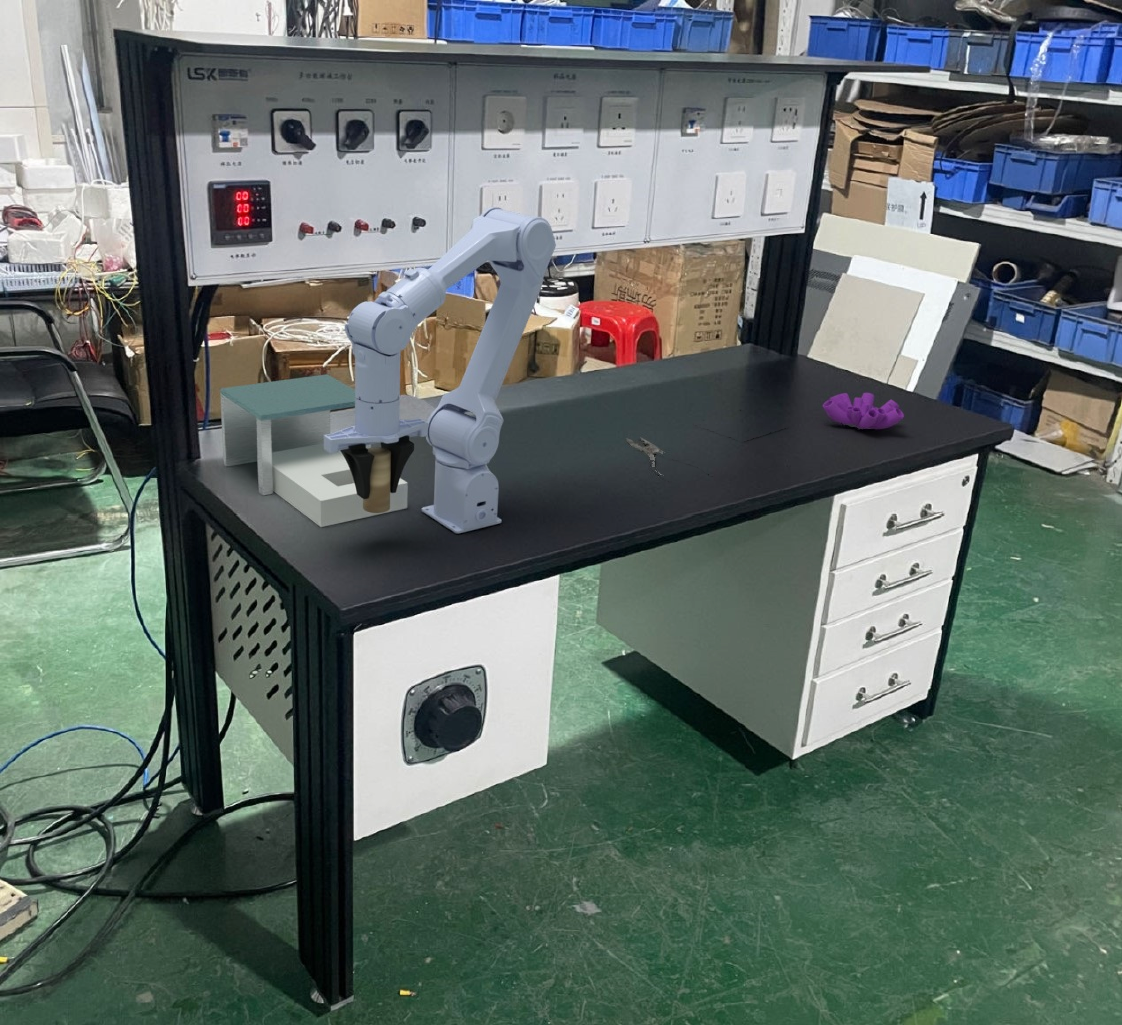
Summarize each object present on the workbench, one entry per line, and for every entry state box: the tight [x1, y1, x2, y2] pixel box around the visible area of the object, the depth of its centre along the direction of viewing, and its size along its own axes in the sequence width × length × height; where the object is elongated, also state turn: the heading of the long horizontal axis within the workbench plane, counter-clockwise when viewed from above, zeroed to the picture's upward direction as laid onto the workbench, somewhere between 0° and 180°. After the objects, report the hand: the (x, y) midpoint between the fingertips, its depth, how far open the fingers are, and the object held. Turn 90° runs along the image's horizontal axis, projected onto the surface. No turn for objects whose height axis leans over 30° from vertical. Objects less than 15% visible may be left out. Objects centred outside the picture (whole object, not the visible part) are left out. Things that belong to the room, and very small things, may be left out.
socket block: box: [257, 443, 409, 528], centre depth 164 cm, size 20×14×4 cm
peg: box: [363, 446, 391, 514], centre depth 147 cm, size 4×4×8 cm
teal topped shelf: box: [219, 373, 372, 496], centre depth 170 cm, size 14×18×12 cm
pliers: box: [625, 436, 665, 475], centre depth 189 cm, size 10×1×20 cm
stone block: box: [399, 394, 436, 422], centre depth 195 cm, size 12×5×10 cm
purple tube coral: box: [822, 392, 905, 430], centre depth 214 cm, size 11×15×10 cm
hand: (376, 493), depth 148 cm, fingers closed on peg, 4 cm apart
